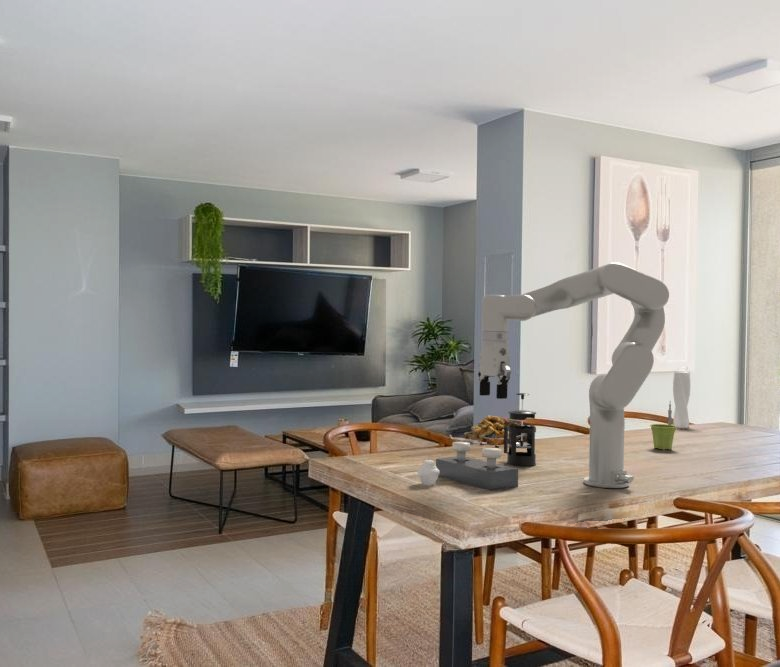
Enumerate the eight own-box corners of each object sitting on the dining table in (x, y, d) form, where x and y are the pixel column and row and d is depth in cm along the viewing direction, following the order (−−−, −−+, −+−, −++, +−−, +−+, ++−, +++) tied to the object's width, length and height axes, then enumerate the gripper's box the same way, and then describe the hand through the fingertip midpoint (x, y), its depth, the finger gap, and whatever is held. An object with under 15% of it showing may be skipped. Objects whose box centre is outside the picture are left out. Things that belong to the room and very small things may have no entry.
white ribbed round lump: (412, 484, 214) (413, 459, 214) (427, 481, 219) (428, 456, 219) (429, 487, 210) (429, 462, 210) (444, 484, 214) (444, 459, 214)
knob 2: (504, 472, 214) (505, 449, 214) (490, 473, 211) (491, 451, 211) (491, 469, 219) (492, 447, 218) (478, 470, 216) (478, 448, 215)
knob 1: (473, 464, 225) (474, 443, 225) (459, 466, 222) (460, 444, 222) (462, 462, 229) (462, 441, 229) (448, 463, 226) (448, 442, 226)
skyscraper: (676, 427, 351) (677, 366, 351) (693, 429, 345) (694, 366, 345) (666, 428, 346) (667, 366, 346) (683, 430, 340) (684, 367, 340)
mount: (518, 486, 213) (518, 468, 213) (491, 490, 208) (491, 472, 208) (461, 472, 233) (461, 455, 233) (435, 475, 227) (435, 458, 227)
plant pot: (680, 451, 282) (680, 427, 282) (654, 450, 282) (654, 427, 282) (671, 447, 291) (671, 424, 291) (646, 446, 291) (646, 423, 291)
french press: (543, 464, 248) (544, 393, 248) (526, 468, 242) (528, 395, 241) (513, 460, 257) (514, 391, 256) (496, 463, 250) (497, 392, 250)
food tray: (505, 435, 321) (506, 409, 321) (556, 443, 302) (556, 415, 302) (447, 442, 298) (447, 415, 298) (497, 451, 279) (498, 422, 279)
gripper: (521, 338, 216) (520, 399, 216) (490, 337, 232) (489, 394, 232) (498, 338, 213) (496, 400, 213) (468, 336, 229) (467, 394, 229)
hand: (493, 396), depth 223 cm, fingers open, 9 cm apart
